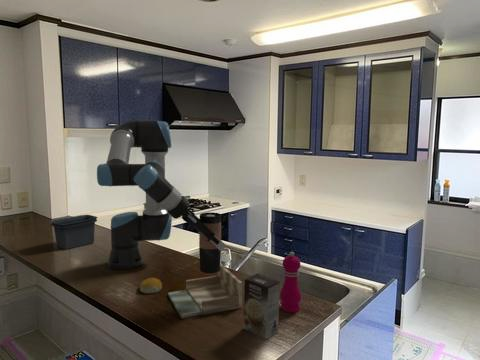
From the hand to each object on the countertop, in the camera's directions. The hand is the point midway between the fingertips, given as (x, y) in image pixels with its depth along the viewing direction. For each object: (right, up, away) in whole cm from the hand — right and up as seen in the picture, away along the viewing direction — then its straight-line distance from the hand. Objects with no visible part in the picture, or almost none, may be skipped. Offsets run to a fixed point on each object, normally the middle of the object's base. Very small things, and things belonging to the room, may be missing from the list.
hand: (219, 245), depth 132 cm
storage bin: (-81, -12, +66) cm, 105 cm away
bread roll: (-27, -19, +10) cm, 34 cm away
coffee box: (+14, -23, -19) cm, 33 cm away
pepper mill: (+25, -21, -5) cm, 33 cm away
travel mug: (-3, -9, 0) cm, 9 cm away
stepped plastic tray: (-6, -20, 0) cm, 21 cm away
